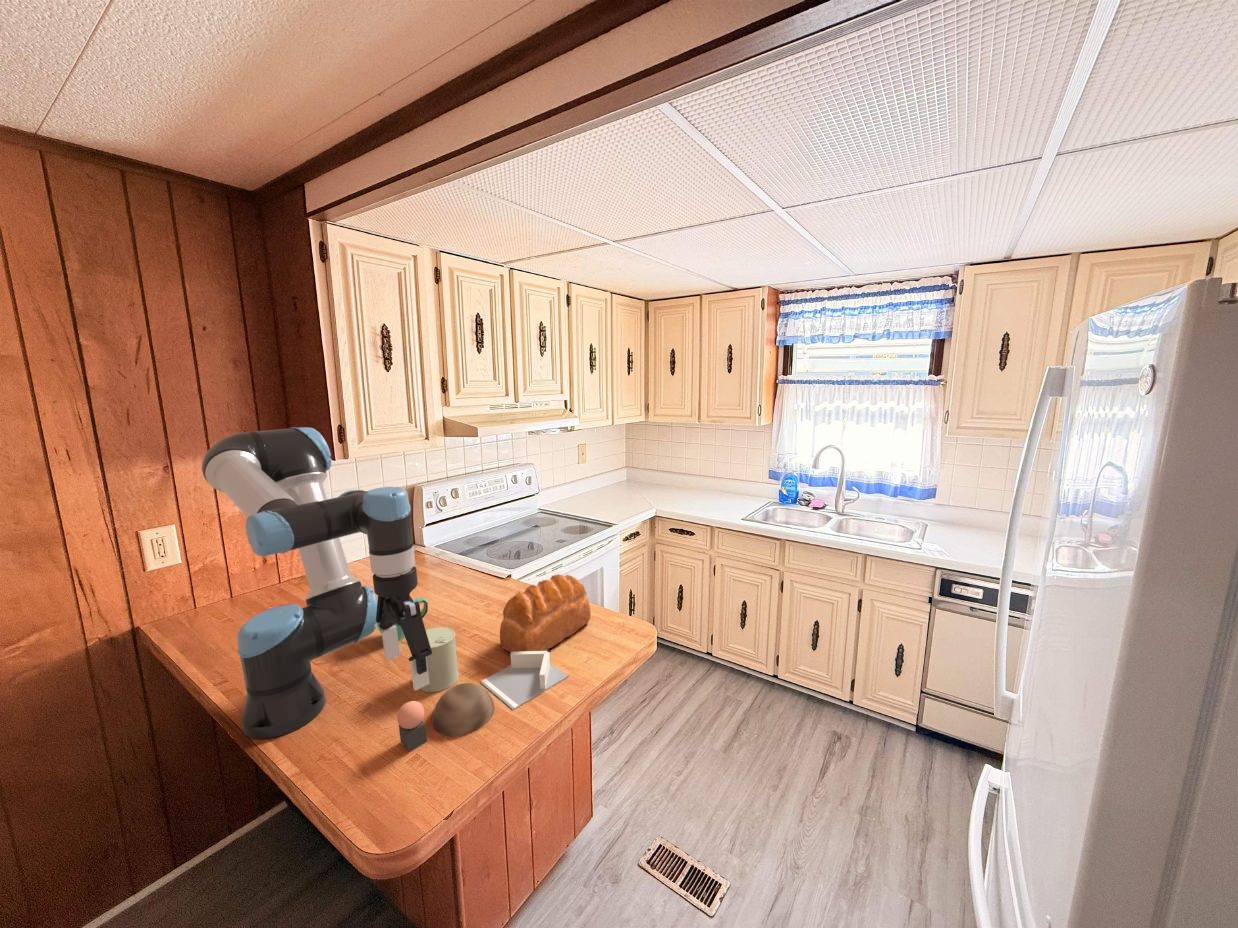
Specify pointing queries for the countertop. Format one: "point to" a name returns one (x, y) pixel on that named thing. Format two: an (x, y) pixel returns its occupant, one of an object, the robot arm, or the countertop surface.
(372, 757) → the countertop surface
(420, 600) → the mug
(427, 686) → the can
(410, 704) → the ball
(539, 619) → the bread
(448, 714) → the dome
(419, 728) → the dark grey hollow cube
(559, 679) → the grey walled tray
